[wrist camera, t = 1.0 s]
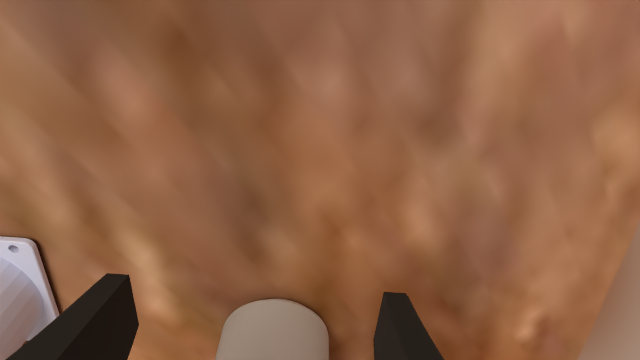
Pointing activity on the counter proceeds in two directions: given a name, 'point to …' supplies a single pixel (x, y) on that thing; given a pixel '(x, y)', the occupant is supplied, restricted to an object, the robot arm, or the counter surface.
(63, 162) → the counter surface
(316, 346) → the beverage can
